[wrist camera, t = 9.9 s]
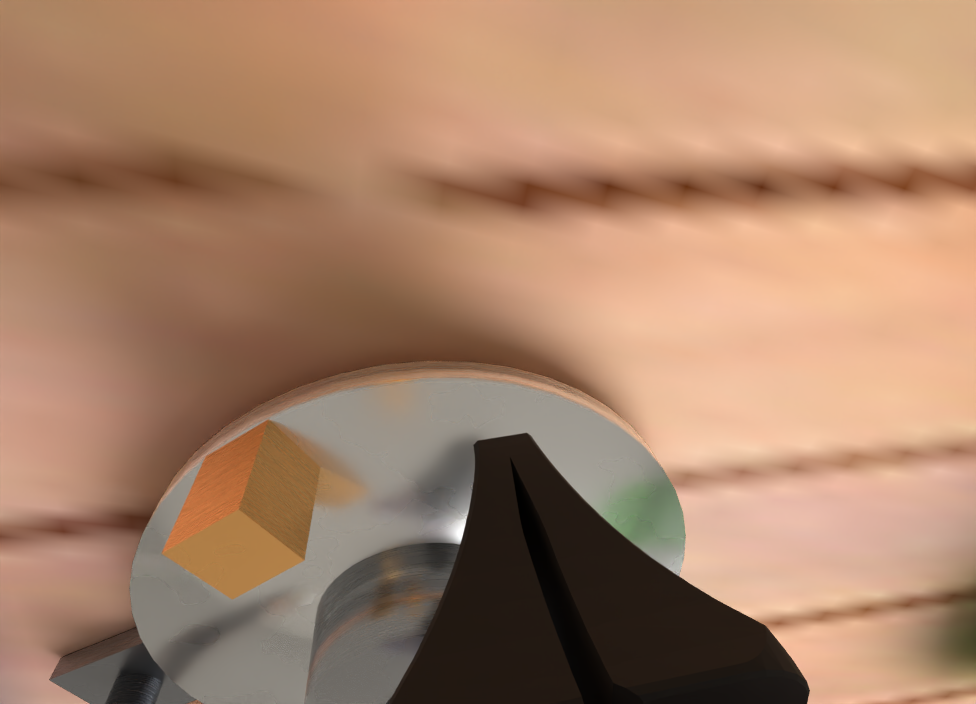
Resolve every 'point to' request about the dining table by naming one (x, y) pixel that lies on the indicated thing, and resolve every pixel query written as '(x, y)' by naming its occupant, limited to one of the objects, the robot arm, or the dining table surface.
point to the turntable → (356, 507)
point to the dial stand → (117, 674)
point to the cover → (375, 623)
